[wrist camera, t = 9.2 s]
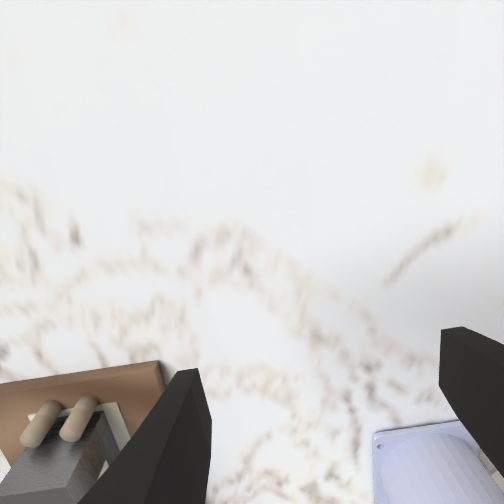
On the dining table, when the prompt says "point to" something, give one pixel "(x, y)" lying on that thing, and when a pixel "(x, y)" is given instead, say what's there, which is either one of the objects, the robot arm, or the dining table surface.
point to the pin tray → (77, 404)
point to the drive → (61, 465)
